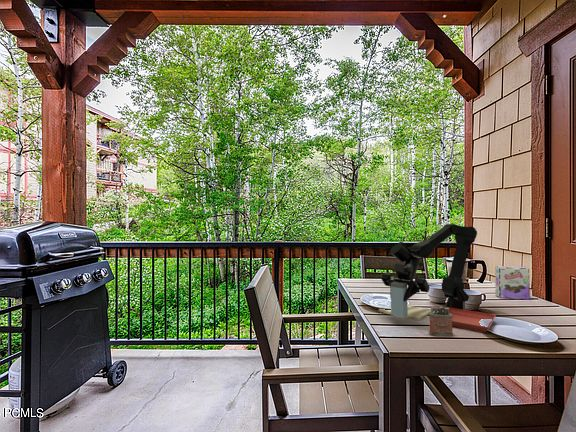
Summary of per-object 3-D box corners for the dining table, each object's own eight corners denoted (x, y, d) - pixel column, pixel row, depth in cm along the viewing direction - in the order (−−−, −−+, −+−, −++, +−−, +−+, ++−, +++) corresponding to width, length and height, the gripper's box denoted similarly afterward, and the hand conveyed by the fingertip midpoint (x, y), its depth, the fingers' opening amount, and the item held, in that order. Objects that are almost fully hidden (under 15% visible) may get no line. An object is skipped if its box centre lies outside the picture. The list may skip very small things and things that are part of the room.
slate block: (407, 315, 122) (407, 283, 122) (403, 317, 119) (402, 284, 120) (395, 313, 126) (395, 281, 126) (391, 315, 123) (390, 282, 123)
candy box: (499, 298, 161) (498, 267, 161) (495, 295, 167) (494, 265, 167) (530, 300, 157) (529, 268, 157) (525, 297, 163) (524, 266, 163)
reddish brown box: (450, 333, 112) (450, 305, 112) (454, 336, 109) (454, 308, 109) (427, 332, 113) (427, 305, 113) (431, 336, 109) (430, 308, 109)
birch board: (432, 312, 137) (432, 310, 138) (418, 320, 126) (418, 318, 126) (394, 304, 150) (394, 302, 150) (378, 311, 139) (378, 309, 139)
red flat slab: (489, 336, 110) (489, 326, 110) (435, 325, 122) (435, 316, 122) (496, 323, 124) (496, 314, 124) (447, 314, 135) (447, 306, 135)
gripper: (382, 254, 132) (368, 284, 125) (426, 258, 119) (413, 291, 111) (391, 270, 138) (379, 299, 130) (434, 275, 124) (423, 308, 116)
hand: (397, 299), depth 122 cm, fingers closed on slate block, 5 cm apart
